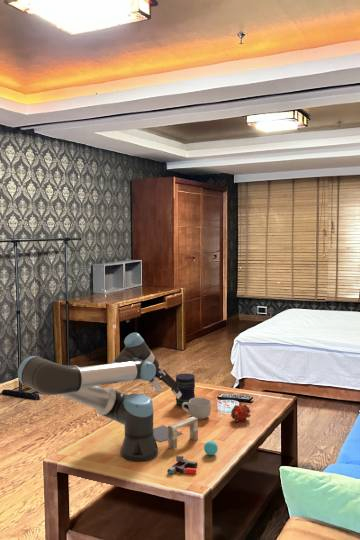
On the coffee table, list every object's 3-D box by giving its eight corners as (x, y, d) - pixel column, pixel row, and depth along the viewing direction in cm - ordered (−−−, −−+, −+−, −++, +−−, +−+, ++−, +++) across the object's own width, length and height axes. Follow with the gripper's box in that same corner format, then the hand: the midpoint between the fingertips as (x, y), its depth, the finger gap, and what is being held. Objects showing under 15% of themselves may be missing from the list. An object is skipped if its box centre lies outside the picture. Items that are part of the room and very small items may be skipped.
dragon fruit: (248, 419, 257) (236, 431, 248) (235, 407, 261) (222, 418, 251) (257, 408, 253) (244, 420, 244) (243, 396, 256) (230, 407, 247)
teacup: (211, 413, 262) (211, 397, 262) (210, 421, 252) (210, 405, 251) (183, 412, 264) (183, 396, 263) (181, 421, 253) (180, 404, 252)
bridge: (198, 438, 232) (197, 418, 231) (173, 449, 222) (173, 427, 222) (193, 436, 234) (192, 416, 234) (168, 447, 225) (168, 425, 224)
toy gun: (164, 475, 201) (164, 462, 200) (183, 463, 211) (183, 451, 210) (185, 482, 195) (185, 469, 195) (203, 469, 205) (203, 457, 204)
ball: (211, 458, 213) (211, 445, 212) (201, 454, 217) (201, 441, 216) (220, 454, 217) (220, 441, 216) (210, 450, 221) (210, 437, 220)
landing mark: (160, 442, 229) (160, 441, 229) (141, 433, 239) (141, 433, 239) (182, 433, 238) (182, 433, 238) (163, 425, 248) (163, 425, 248)
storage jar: (177, 401, 280) (177, 373, 279) (196, 401, 279) (195, 373, 278) (174, 407, 271) (174, 379, 269) (194, 408, 269) (193, 379, 268)
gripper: (172, 360, 229) (193, 393, 239) (135, 350, 247) (156, 381, 257) (161, 373, 225) (183, 406, 235) (125, 362, 243) (147, 393, 253)
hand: (169, 393), depth 246 cm, fingers open, 13 cm apart
